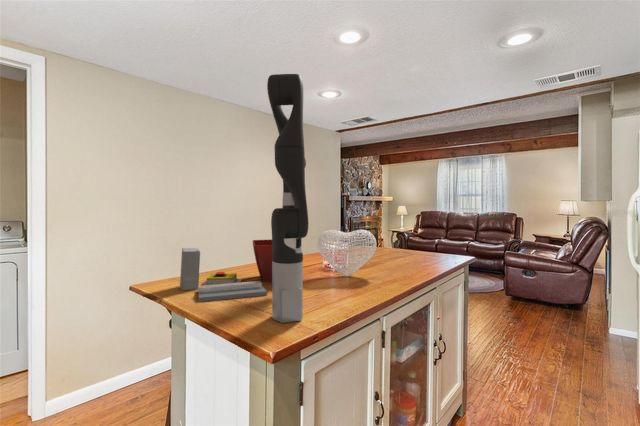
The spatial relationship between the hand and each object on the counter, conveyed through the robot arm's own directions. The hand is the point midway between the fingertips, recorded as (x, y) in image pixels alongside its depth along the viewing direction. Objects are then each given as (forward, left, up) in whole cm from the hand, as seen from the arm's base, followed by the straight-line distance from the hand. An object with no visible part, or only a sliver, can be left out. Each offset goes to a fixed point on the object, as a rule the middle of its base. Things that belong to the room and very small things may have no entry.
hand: (291, 247), depth 128 cm
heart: (+15, -32, -17) cm, 39 cm away
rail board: (+4, +22, -17) cm, 29 cm away
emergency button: (+24, +24, -18) cm, 38 cm away
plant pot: (+23, +2, -17) cm, 29 cm away
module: (0, 0, -2) cm, 2 cm away
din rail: (+4, +22, -16) cm, 28 cm away
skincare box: (+18, +38, -17) cm, 45 cm away
